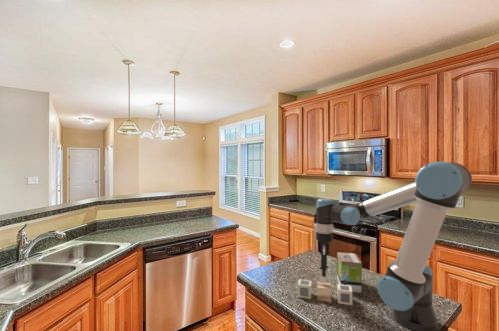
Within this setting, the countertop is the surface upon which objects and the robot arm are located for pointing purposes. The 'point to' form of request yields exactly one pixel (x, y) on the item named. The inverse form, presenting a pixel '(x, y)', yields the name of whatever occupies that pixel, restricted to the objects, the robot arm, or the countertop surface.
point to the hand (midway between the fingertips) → (323, 282)
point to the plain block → (324, 292)
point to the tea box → (349, 271)
